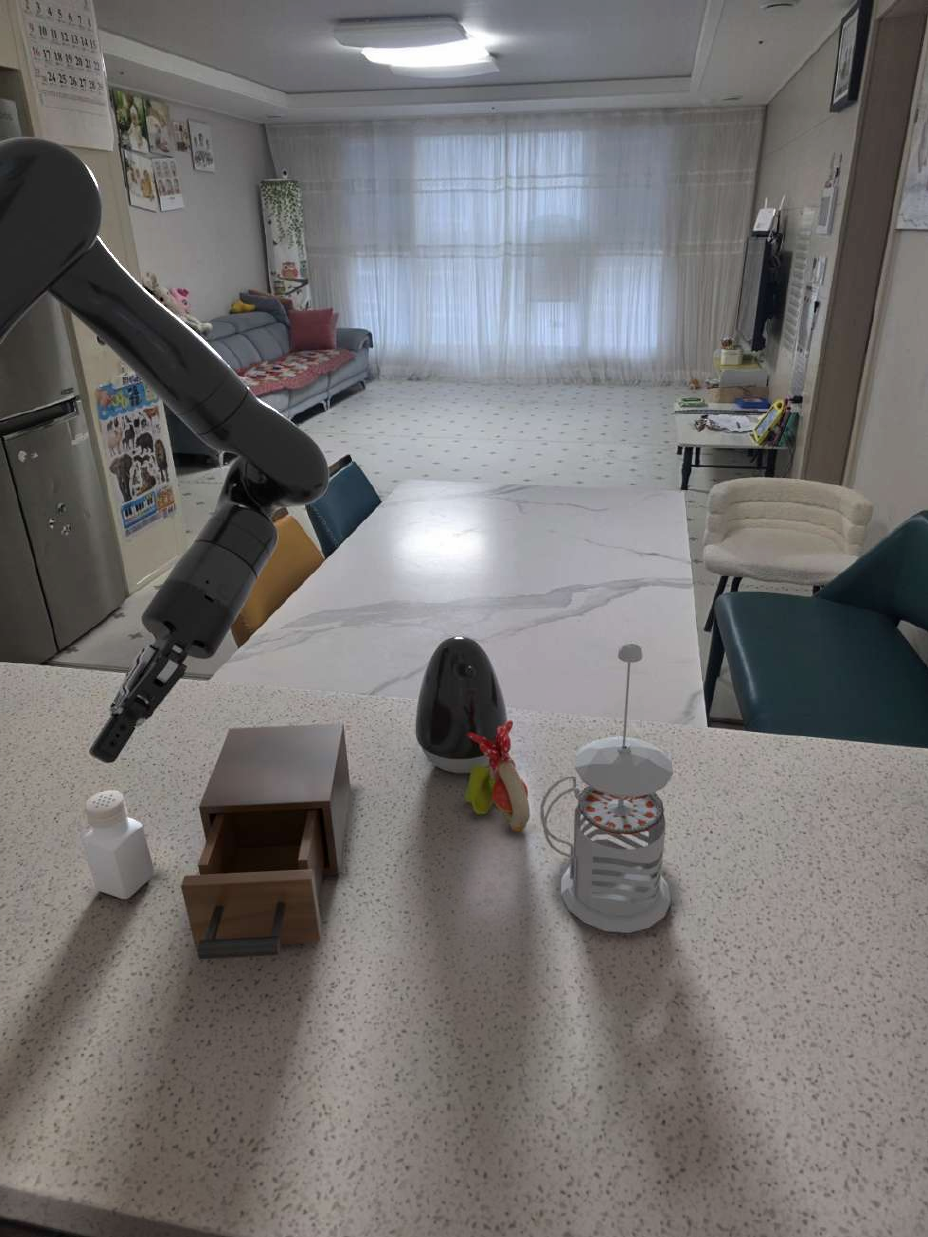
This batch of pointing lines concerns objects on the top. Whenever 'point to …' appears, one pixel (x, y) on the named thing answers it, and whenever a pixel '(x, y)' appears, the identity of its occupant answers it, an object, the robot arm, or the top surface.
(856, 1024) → the top surface
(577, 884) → the french press
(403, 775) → the top surface
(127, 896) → the pepper shaker
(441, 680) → the black egg-shaped device
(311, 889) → the drawer
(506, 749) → the bird rattle
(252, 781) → the cabinet
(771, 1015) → the top surface
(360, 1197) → the top surface
